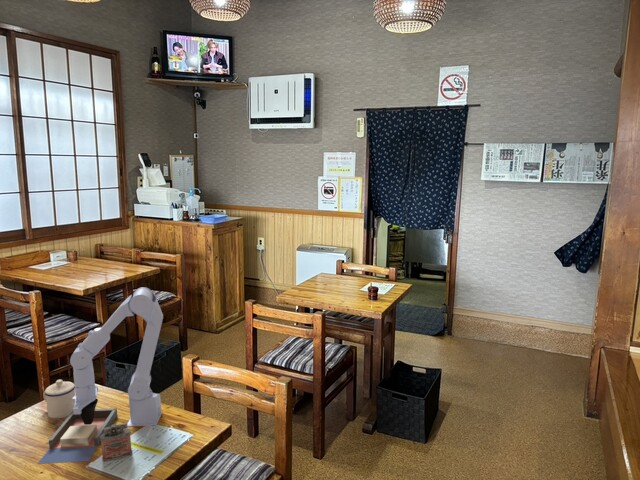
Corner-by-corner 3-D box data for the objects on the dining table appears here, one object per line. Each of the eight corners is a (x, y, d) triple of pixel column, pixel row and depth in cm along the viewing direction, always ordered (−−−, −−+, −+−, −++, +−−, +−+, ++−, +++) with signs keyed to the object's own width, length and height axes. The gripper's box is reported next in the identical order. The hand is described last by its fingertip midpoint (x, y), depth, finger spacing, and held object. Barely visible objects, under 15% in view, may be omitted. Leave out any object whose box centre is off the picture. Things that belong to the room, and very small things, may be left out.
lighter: (102, 463, 135) (99, 431, 133) (102, 457, 138) (99, 425, 136) (132, 456, 138) (130, 425, 136) (132, 450, 141) (129, 419, 139)
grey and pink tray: (117, 416, 159) (116, 408, 159) (98, 447, 142) (97, 438, 142) (74, 418, 158) (73, 410, 158) (49, 449, 141) (48, 440, 141)
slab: (97, 432, 150) (96, 424, 149) (88, 445, 143) (87, 437, 142) (70, 433, 149) (70, 426, 148) (60, 446, 142) (59, 439, 142)
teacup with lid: (83, 408, 165) (80, 376, 163) (61, 421, 156) (58, 388, 154) (56, 402, 169) (53, 371, 167) (34, 415, 160) (30, 383, 158)
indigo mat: (98, 447, 142) (97, 446, 142) (88, 462, 135) (88, 461, 135) (49, 449, 141) (49, 448, 141) (37, 464, 134) (37, 463, 134)
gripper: (81, 374, 157) (84, 411, 159) (61, 395, 143) (65, 436, 145) (103, 373, 158) (106, 411, 160) (85, 394, 143) (89, 435, 146)
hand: (88, 423), depth 153 cm, fingers closed
